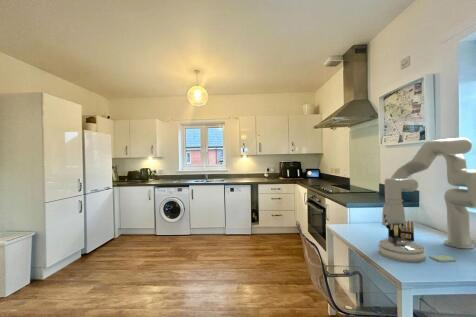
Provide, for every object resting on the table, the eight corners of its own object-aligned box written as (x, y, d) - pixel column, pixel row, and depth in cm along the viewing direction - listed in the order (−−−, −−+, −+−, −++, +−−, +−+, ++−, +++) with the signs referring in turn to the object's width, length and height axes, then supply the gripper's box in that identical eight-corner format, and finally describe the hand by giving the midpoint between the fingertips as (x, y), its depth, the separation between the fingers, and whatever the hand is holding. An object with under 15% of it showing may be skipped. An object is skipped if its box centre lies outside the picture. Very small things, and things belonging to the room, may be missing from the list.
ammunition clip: (393, 238, 160) (392, 219, 160) (393, 237, 162) (392, 218, 162) (414, 241, 154) (413, 220, 154) (414, 240, 156) (413, 220, 156)
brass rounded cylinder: (390, 240, 139) (389, 223, 139) (395, 239, 140) (395, 223, 140) (394, 242, 136) (394, 225, 136) (399, 241, 137) (399, 224, 136)
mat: (444, 256, 129) (444, 255, 129) (455, 261, 123) (455, 259, 123) (429, 257, 128) (429, 255, 128) (440, 262, 122) (440, 260, 122)
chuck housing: (405, 247, 143) (405, 241, 143) (436, 261, 123) (436, 254, 123) (370, 249, 141) (370, 242, 141) (396, 263, 121) (396, 256, 121)
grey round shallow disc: (374, 241, 143) (374, 234, 143) (413, 242, 140) (412, 235, 140) (387, 253, 125) (387, 245, 125) (432, 255, 121) (432, 247, 121)
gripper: (402, 200, 143) (403, 233, 143) (374, 201, 141) (375, 235, 141) (413, 202, 135) (414, 237, 135) (383, 203, 134) (384, 239, 133)
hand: (394, 236), depth 138 cm, fingers closed on brass rounded cylinder, 3 cm apart
